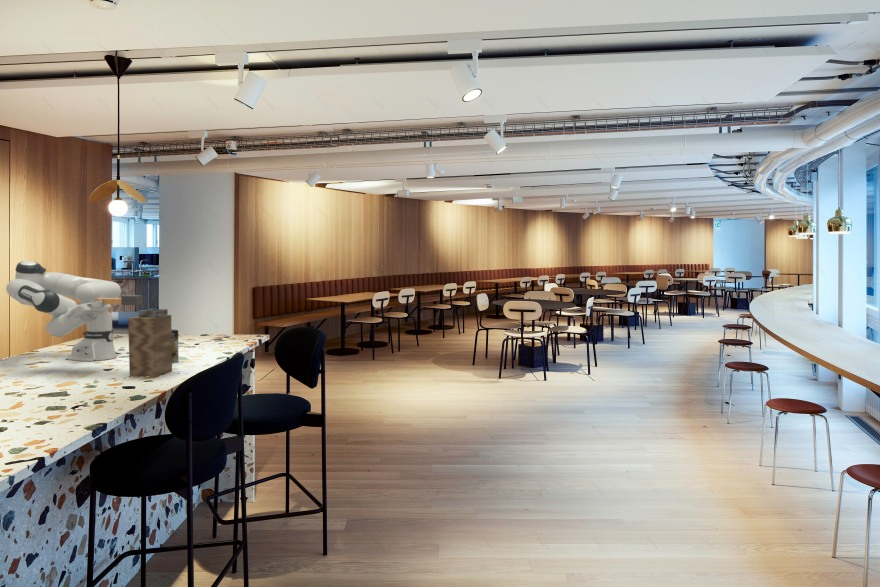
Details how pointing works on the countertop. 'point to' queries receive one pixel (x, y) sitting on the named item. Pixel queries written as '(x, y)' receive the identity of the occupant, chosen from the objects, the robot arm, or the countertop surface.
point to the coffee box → (174, 346)
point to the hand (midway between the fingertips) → (105, 300)
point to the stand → (150, 343)
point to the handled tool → (123, 300)
